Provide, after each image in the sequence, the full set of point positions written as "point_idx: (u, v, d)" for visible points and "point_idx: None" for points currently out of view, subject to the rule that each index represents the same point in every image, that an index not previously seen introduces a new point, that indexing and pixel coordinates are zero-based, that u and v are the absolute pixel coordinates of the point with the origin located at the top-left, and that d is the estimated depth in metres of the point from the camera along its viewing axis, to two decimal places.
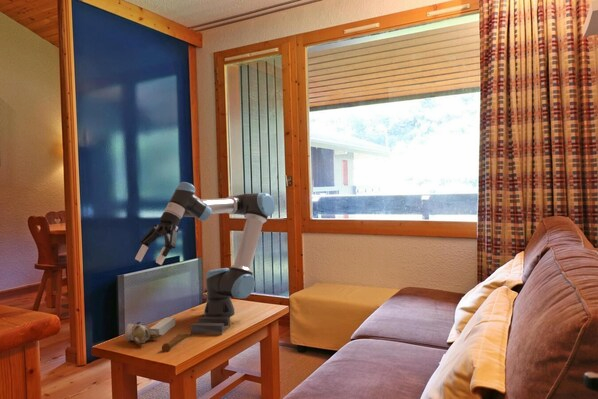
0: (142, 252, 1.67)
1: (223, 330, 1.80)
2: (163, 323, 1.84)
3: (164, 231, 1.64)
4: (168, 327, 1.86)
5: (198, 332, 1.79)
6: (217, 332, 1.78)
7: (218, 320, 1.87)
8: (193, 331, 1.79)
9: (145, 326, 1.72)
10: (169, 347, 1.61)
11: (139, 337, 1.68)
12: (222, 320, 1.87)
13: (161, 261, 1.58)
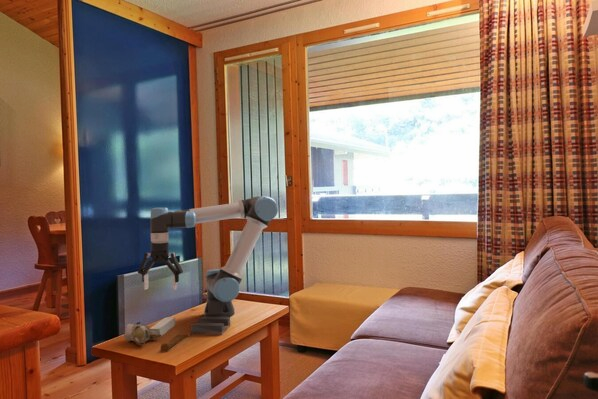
0: (146, 281, 1.85)
1: (223, 330, 1.80)
2: (163, 323, 1.84)
3: (164, 261, 1.82)
4: (168, 327, 1.86)
5: (198, 332, 1.79)
6: (217, 332, 1.78)
7: (218, 320, 1.87)
8: (193, 331, 1.79)
9: (145, 326, 1.71)
10: (168, 347, 1.60)
11: (139, 337, 1.68)
12: (222, 320, 1.87)
13: (176, 286, 1.83)
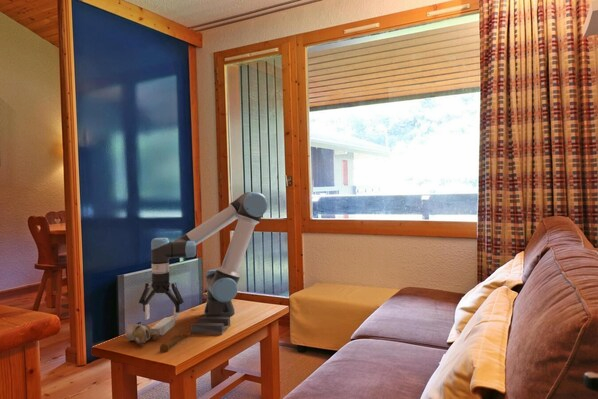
0: (148, 311, 1.86)
1: (223, 330, 1.80)
2: (163, 323, 1.84)
3: (165, 291, 1.83)
4: (168, 327, 1.86)
5: (198, 332, 1.79)
6: (217, 332, 1.78)
7: (218, 320, 1.87)
8: (193, 331, 1.79)
9: (146, 326, 1.71)
10: (167, 348, 1.60)
11: (140, 337, 1.68)
12: (222, 320, 1.87)
13: (177, 316, 1.85)
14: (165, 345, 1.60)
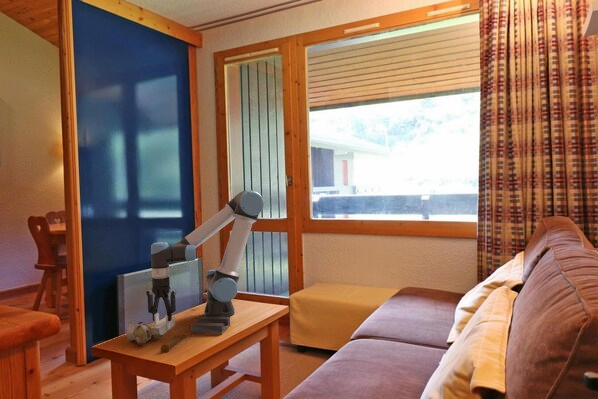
0: (157, 320, 1.86)
1: (223, 330, 1.80)
2: (163, 322, 1.84)
3: (163, 297, 1.83)
4: None
5: (198, 332, 1.79)
6: (217, 332, 1.78)
7: (218, 320, 1.87)
8: (193, 331, 1.79)
9: (146, 326, 1.72)
10: (168, 348, 1.60)
11: (140, 337, 1.68)
12: (222, 320, 1.87)
13: (169, 325, 1.85)
14: (166, 345, 1.60)
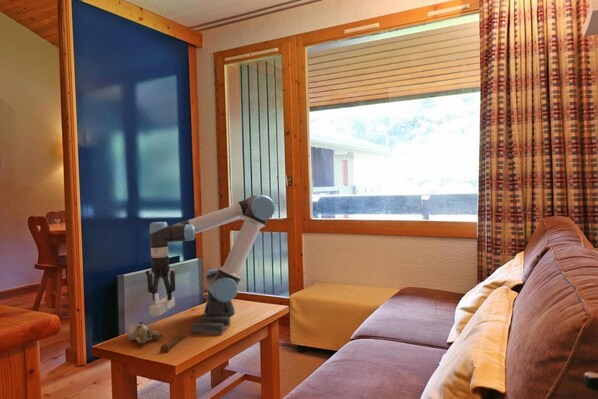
0: (157, 299, 1.85)
1: (223, 330, 1.80)
2: (163, 302, 1.84)
3: (163, 276, 1.83)
4: None
5: (198, 332, 1.79)
6: (217, 332, 1.78)
7: (218, 320, 1.87)
8: (193, 331, 1.79)
9: (147, 326, 1.72)
10: (168, 348, 1.59)
11: (141, 337, 1.68)
12: (222, 320, 1.87)
13: (169, 304, 1.85)
14: (166, 346, 1.59)
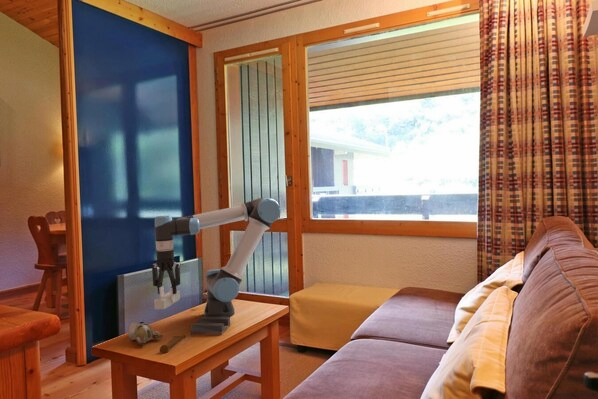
0: (162, 293, 1.85)
1: (223, 330, 1.80)
2: (168, 295, 1.84)
3: (168, 270, 1.83)
4: None
5: (198, 332, 1.79)
6: (217, 332, 1.78)
7: (218, 320, 1.87)
8: (193, 331, 1.79)
9: (147, 326, 1.72)
10: (167, 348, 1.59)
11: (141, 337, 1.68)
12: (222, 320, 1.87)
13: (174, 298, 1.85)
14: (165, 346, 1.59)
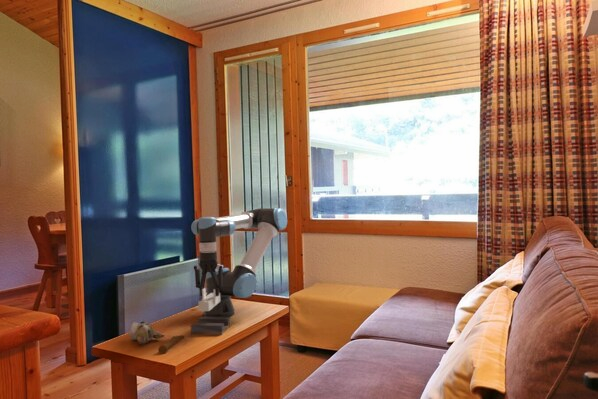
0: (204, 295, 1.84)
1: (223, 330, 1.80)
2: (210, 297, 1.83)
3: (211, 271, 1.82)
4: None
5: (198, 332, 1.79)
6: (217, 332, 1.78)
7: (218, 320, 1.87)
8: (193, 331, 1.79)
9: (148, 326, 1.72)
10: (166, 349, 1.59)
11: (141, 337, 1.69)
12: (222, 320, 1.87)
13: (216, 300, 1.84)
14: (164, 346, 1.59)
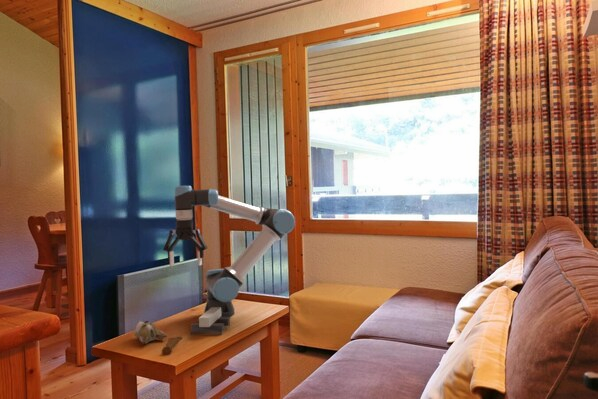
0: (172, 257, 1.89)
1: (223, 330, 1.80)
2: (211, 312, 1.83)
3: (189, 237, 1.86)
4: (216, 317, 1.85)
5: (198, 332, 1.79)
6: (217, 332, 1.78)
7: (218, 320, 1.87)
8: (193, 331, 1.79)
9: (151, 325, 1.72)
10: (170, 350, 1.58)
11: (144, 336, 1.69)
12: (222, 320, 1.87)
13: (201, 262, 1.88)
14: (168, 347, 1.58)
